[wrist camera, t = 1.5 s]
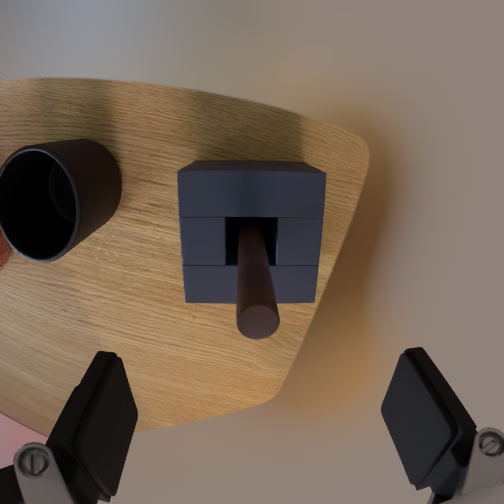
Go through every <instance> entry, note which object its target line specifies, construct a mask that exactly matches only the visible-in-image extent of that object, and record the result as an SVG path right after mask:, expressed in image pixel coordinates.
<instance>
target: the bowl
mask: <svg viewBox="0 0 504 504" xmlns="http://www.w3.org/2000/svg"><path fill="white" fill-rule="evenodd" d="M10 247H11V245H10V244H9V243H8V241H7V240H6V238H5V237H4V235H3V233H2V231H1V229H0V271H1V270H2V268H3V267H4V266H5V264H6V263H7V260H8V256H9V252H10V249H11V248H10Z"/></svg>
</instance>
